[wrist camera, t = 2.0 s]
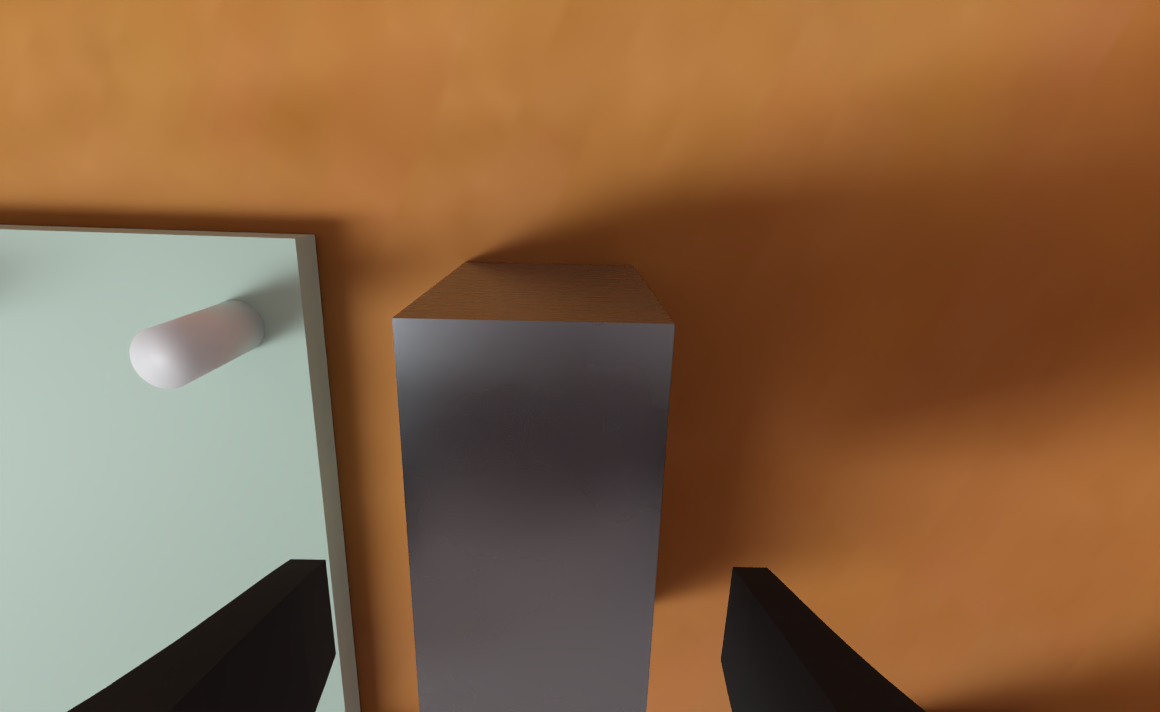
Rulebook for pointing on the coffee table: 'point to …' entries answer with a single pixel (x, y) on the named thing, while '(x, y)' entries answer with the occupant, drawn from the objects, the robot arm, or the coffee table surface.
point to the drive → (533, 484)
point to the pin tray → (156, 447)
